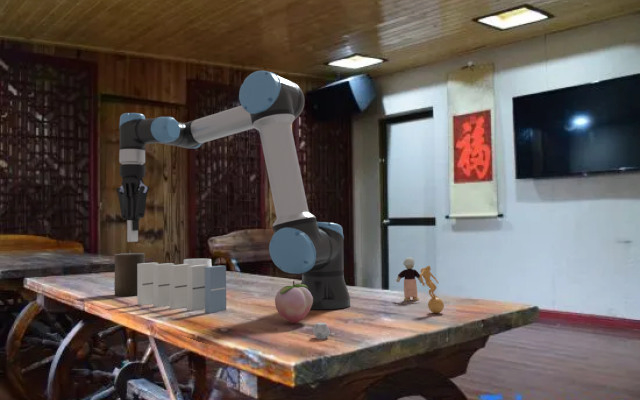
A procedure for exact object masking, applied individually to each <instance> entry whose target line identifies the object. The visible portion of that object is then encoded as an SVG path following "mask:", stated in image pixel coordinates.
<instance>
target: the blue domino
mask: <svg viewBox="0 0 640 400" xmlns="http://www.w3.org/2000/svg"><path fill="white" fill-rule="evenodd" d="M223 311H227V265H212V267H205V309H204V313H206V314H213V313H218V312H223Z"/></svg>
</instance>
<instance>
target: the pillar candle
mask: <svg viewBox="0 0 640 400" xmlns="http://www.w3.org/2000/svg"><path fill="white" fill-rule="evenodd" d="M128 251H129V253H127V252H126V253H124V252H123V253H115V254H114V281H113V282H114V287H113V288H114V296H116V297H117V296H118V297H133V296H137V264H141V263H146V262H145V261H146V257H145V255H146V254H145V253H144V252H139V253H138V252H137V253H136V252H131V249H129V250H128Z"/></svg>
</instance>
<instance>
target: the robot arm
mask: <svg viewBox="0 0 640 400" xmlns="http://www.w3.org/2000/svg"><path fill="white" fill-rule="evenodd" d="M238 94H239V95H238V100H239V103H240V105H239V106H236V107H232V108H229V109H226V110H222V111H219V112H217V113H214V114H210V115H206V116H203V117H200V118H198V119H197V118H196V119H194V120H190V121H188V122H180V121H177V120H176V119H175V117H172V116H158V117H153V118H152V117H151V118H146V116H145V115H144V114H143V113H139V112H138V113H137V112H125V113H122V114H121V115H120V117H119V124H118V125H119V126H118V130H119V153H118V154H119V156H118V157H119V159H118V162H119V164H120V165H119V177H121V178H122V181H121V186H120V187H116V193H117V194H118V195H117V196H118V202H119V209H120V214H121V218H122V219H125V220H126V231H127V232H126V233H127V234H126V239H127V240H126V242H128V243H133V242H134V243H135V242H139V229H140V227H139V226H140V224H139V223H140V220H141V219H142V218H144V217H145V210H146V204H147V197H148V193H149V190H150V186H148V185H145V184H144V182H145V181H144V178H145V177H146V165H144V164H145V163H146V145H150V144H162V145H167V146H175V147H179V148H184V149H188V150H189V149H190V150H191V149H198V148H200V147H201V146H202V145H203V144H204V143H208V142H210V141H214V140H217V139H222V138H225V137H228V136H232V135H236V134H238V133H239V134H240V133H242V132H246V131H249V130H253V129H255V130H256V131H258V132H259V137H260V142H261V145H262V146H261V147H262V151H263V156H264V160H265V166H266V169H267V170H266V171H267V172H266V173H267V176H268V182H269V186H270V191H271V195H272V197H271V198H272V200H273V201H272V202H273V206H274V211H275V216H276V219H275V221H274V222H273V224H272V231H273V235H272V236H271V240H270V242H269V246H268V249H269V250H268V252H269V256H270V258H271V260H272V262H273V263H274V265H275V266H276V267H277V268H278V269H279V270H281V271H282V272H285V273H288V274H297V275H298V274H301V275H302V278H301V283H300V284H303V285H306V286H307V287H308V290H309V291H310V293H311V295H312V297H313V303H312V306H311V309H310V310H338V309H344V308H347V307H351V296H350V293H349V291H348V290H349V289H348V287H347V283H346V282H345V281H346V280H345V277H344V266H345V265H344V240H345V236H344V233H343V232H344V231H343V230H344V229H343V226H342V225H340V224H338V223H334V222H325V221H323V222H322V221H317V217H316V216H315V215H314V214H312V213H311V212H310V211H309V207H308V201H307V197H306V193H305V187H304V183H303V179H302V178H303V177H302V173H301V167H300V164H299V158H298V153H297V148H296V145H295V143H296V142H295V139H294V134H293V130H292V125H293V122H294V121H295V120H296V119H297V118H299V116H300V115H301V114H302V112H303V110H304V108H305V102H306V101H305V95H304V92H303V91H302V89H301V88H300V86H299V85H298V84H297V83H295V82H293V81H291V80H289V79H286V78H284V77H281V76H279V75H278V74H276V73H275V72H271V71H266V70H257V71H253V72H252V73H250V74H249V75H248V76H247V77H245V79H244V81H243V83H241V85H240V88H239V92H238ZM306 289H307V288H306Z"/></svg>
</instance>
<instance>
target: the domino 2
mask: <svg viewBox="0 0 640 400" xmlns="http://www.w3.org/2000/svg"><path fill="white" fill-rule="evenodd" d="M169 265H175V263H173V262H168V263H167V262H166V263H158V264H155V265H153V305H152V307H153V308H160V307H162V308H163V307H167V306H170V275H169Z"/></svg>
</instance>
